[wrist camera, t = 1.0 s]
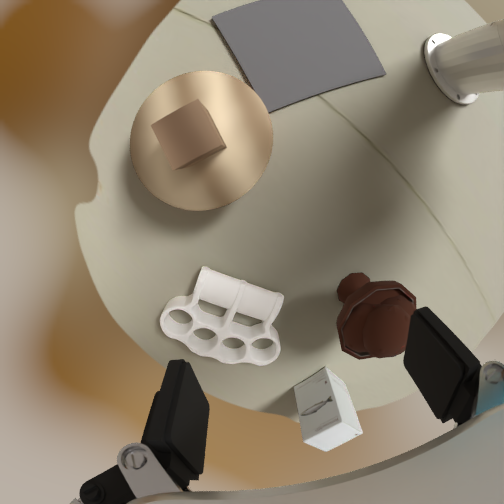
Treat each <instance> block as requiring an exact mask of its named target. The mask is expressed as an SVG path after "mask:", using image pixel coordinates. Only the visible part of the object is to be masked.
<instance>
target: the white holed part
mask: <svg viewBox="0 0 504 504" xmlns="http://www.w3.org/2000/svg"><path fill="white" fill-rule="evenodd" d="M199 299H201V300H204V301H206V302H209V303H212V304H215V305H218V306H220V307H223V308H226V309H227V310H226V313H225V315H224V316H222V317H218V316H215V315H212V314H210V313H207V312H204V311H202V310H201V309H200V307H199V305H198V301H199ZM283 301H284V295H281V293H279V292H276V293H275V292H272V291H270V290H267V289H264V288H261V287H258V286H255V285H253V284H250V283H247V282H246V281H245V280H239V279H236V278H233V277H230V276H227V275H225V274H222V273H219V272H217V271H214V270H211V269H209V267H206V266H204V267H203V266H202V269H201V272H200V274H199V277H198V280H197V283H196V286H195V288H194V291H193V294H191V295H189V296H177V297H174V298H172V299H171V300H169V301H168V303H167V304H166V306H165V308H164V310H163V312H162V314H161V317H160V325H161V328H162V330H163V332H164V333H165V334H166V335H167V336H168V337H169V338H174V339H177V340H179V341H181V342H183V343H184V344H185V345H186V346H187V347H188V348H189V349H190V350H191V351H192V353H196V354H198V355H199V356H207V357H212V358H215V359H217V360H219V361H220V362H221V363H227V364H237V363H242V362H248V363H253V364H256V365H258V366H263V365H267V364H269V363H271V362H273V361H274V360H275V359H276V358H277V357H278V356H279V354H280V350H281V347H280V341H279V335H278V332H277V330H276V329H275V328H274V327H273V326H272V325H271V324H272V322H273V321H274V320H275V319H276V317H277V315H278V313H279V311H280V309H281V307H282V304H283ZM176 309H179V310H183V311H185V312H187V313H188V314H189V315H190V316H191V317H192V320H191V321H190V322H188V323H185V324H181V323H177V322H175V321H174V320H173V319H172V318H171V317H170V314H169V312H170V311H172V310H176ZM236 312H238V313H241V314H244V315H247V316H250V317H253V318H257V319H260V320H263V322H262V323H259V324H255V325H253V326H251V327H249V326H246V325H242V324H239V323H236V322H233V321H232V320H233V318H234V315H235V313H236ZM199 328H207V329H210V330H212V331H213V332H215V333H216V335H215V336H214V337H213V338H211V339H208V340H204V339H200V338H198V337H196V336H195V335H194V333H193V332H194V331H195V330H196V329H199ZM227 338H238V339H240V340H242V341H243V342H244V345H243V346H241V347H240V348H236V349H231V348H228V347H226V346H225V345H224V344H223V343H222V341H223V340H224V339H227ZM260 338H268V339H271V340H273V341H274V342H273V344H272V345H271V346H270V347H268V348H266V349H257V348H255V347H253V346H252V345H251V344H252V343H253V342H254V341H255V340H257V339H260Z"/></svg>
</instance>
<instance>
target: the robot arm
mask: <svg viewBox="0 0 504 504" xmlns="http://www.w3.org/2000/svg"><path fill="white" fill-rule="evenodd" d="M424 54H425V60H426V63H427V67H428V69H429V71H430V74H431V76H432V77H433V79H434V81H435V82H436V84H437V85H438V87H439V88H440V89H441V90H442V92H443V93H444V94H445V95H446V96H447V97H449V98H450V99H451V100H453V101H454V102H456V103H459V104H471V103H473V102H474V101H476V99H477V98H478V95H479V93H485V92H494V91H504V19H502V20H499V21H496V22H492V23H490V24H486V25H483V26H481V27H478V28H475V29H472V30H469V31H467V32H464V33H462V34H459V35H457V36H454V37H450V36H448V35H445V34H434V35H432V36H430V37H429V38H428V39H427V41H426V43H425V47H424ZM403 361H404V366H405V368H406V369H407V371H408V373H409V374H410V376H411V377H412V379H413V380H414V382H415V384H416V385H417V387H418V388H419V390H420V392H421V393H422V395H423V396H424V398H425V400H426V401H427V403H428V405H429V406H430V408H431V410H432V411H433V413H434V415H435V416H436V418H437V419H441V421H442V423H445V422H446V421H448V420H450V419H452V418H453V419H454V421H455V425H454V429H453V430H451V431H449V432H447V433H445V434H443V435H441V436H439V437H438V438H435V439H433V440H432V441H429V442H427V443H425V444H424V445H421V446H419V447H417V448H415V449H412V450H410V451H408V452H405V453H403V454H401V455H398V456H396V457H393V458H391V459H388V460H385V461H382V462H380V463H377V464H374V465H371V466H368V467H365V468H362V469H358V470H355V471H352V472H349V473H345V474H341V475H338V476H333V477H329V478H325V479H320V480H316V481H311V482H306V483H300V484H294V485H289V486H281V487H274V488H265V489H254V490H239V491H209V492H208V491H204V492H203V491H199V492H192V491H191V490H190V489H189V487H188V485H189V481H190V480H199V474H202V473H203V467H204V458H205V447H206V437H207V428H208V418H209V403H208V401H207V399H206V397H205V395H204V393H203V391H202V388H201V386H200V384H199V382H198V380H197V378H196V376H195V374H194V372H193V369H192V367H191V365H190V363H189V362H185V360H184V359H180V360H170V361H169V363H168V366H167V369H166V373H165V376H164V379H163V382H162V386H161V389H160V391H158V392H156V394H155V396H154V399H153V403H152V406H151V409H150V413H149V416H148V419H147V423H146V426H145V429H144V433H143V436H142V440H141V443H131V444H128V445H126V446H125V447H123V448H122V449H121V451H120V452H119V454H118V456H117V463H118V464H117V465H115V466H114V467H112V468H110V469H108V470H107V471H105V472H103V473H101V474H99V475H97V476H96V477H94V478H92V479H90V480H88V481H86V482H85V483H84V484H83V485H82V487H81V489H80V498H79V499H78V500H77V499H76V498H75V499H74V500H73V501H72V502H71V503H70V504H504V365H503V364H502V363H500V362H497V361H489V362H486V363H485V364H484V365H483V366H481V365H480V361H479V360H478V359H477V358H476V357H475V356H474V355H473V354H472V352H471V351H470V350H469V349H468V348H467V347H466V346H465V345H464V344H463V343H462V342H461V340H460V339H459V338H458V337H457V336H456V335H455V334H454V333H453V332H452V331H451V330H450V329H449V328H448V327H447V326H446V325H445V324H444V323H443V322H442V321H441V320H440V319H439V318H438V317H437V316H436V315H435V314H434V313H433V312H432V311H431V310H430V309H429V308H428V307H423V308H420V309H417V310H415V311H414V312H413V314H412V315H411V318H410V325H409V331H408V338H407V344H406V349H405V355H404V360H403Z"/></svg>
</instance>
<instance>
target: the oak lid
mask: <svg viewBox="0 0 504 504" xmlns="http://www.w3.org/2000/svg"><path fill="white" fill-rule="evenodd" d="M272 145H273V130H272V123H271V120H270V116H269V113H268V111H267V109H266V107H265V105H264V103H263V102H262V100H261V98H260V97H259V96H258V95H257V94H256V92H255V91H254V90H252V89H251V88H250V87H249V86H248V85H247V84H245V83H244V82H242V81H241V80H239V79H237V78H235V77H233V76H230V75H227V74H224V73H220V72H215V71H195V72H190V73H185V74H182V75H179V76H176V77H174V78H172V79H170V80H168V81H167V82H165V83H163V84H162V85H160V86H159V87H158V88H157V89H156V90H154V91H153V92H152V93H151V94H150V95H149V96H148V97H147V99H146V100H145V101H144V103H143V104H142V105H141V107H140V109H139V111H138V113H137V115H136V117H135V120H134V122H133V126H132V130H131V136H130V152H131V159H132V162H133V166H134V168H135V171H136V173H137V175H138V177H139V179H140V180H141V182H142V183H143V184H144V186H145V187H146V188H147V189H148V190H149V191H150V192H151V193H152V194H153V195H154V196H156V197H157V198H158V199H160V200H161V201H163V202H165V203H167V204H169V205H171V206H174V207H177V208H181V209H185V210H193V211H204V210H211V209H215V208H219V207H222V206H225V205H227V204H230V203H232V202H234V201H235V200H237V199H239V198H240V197H242V196H243V195H244V194H246V193H247V192H248V191H249V190H250V189H251V188H252V187H253V186H254V185H255V184H256V182H257V181H258V180H259V179H260V177H261V176H262V174H263V172H264V171H265V169H266V166H267V164H268V162H269V159H270V155H271V151H272Z"/></svg>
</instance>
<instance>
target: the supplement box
mask: <svg viewBox="0 0 504 504" xmlns="http://www.w3.org/2000/svg"><path fill="white" fill-rule="evenodd" d="M294 392H295V398H296V403H297V409H298V414H299V420H300V426H301V431H302V438H303V442H305V443H307V444H309V445H311V446H314V447H316V448H318V449H321V450H323V451H325V452H326V451H329V450H331V449H333V448H335V447H337V446H339V445H341V444H343V443H345V442H347V441H349V440H351V439H352V438H354V437H356V436H358V435H360V434H362V433H363V431H362V429H361V426H360V423H359V420H358V417H357V415H356V412H355V409H354V406H353V404H352V401H351V398H350V395H349V393H348V390H347V387H346V385H345V383H344V382H343V381H342V380H341V379H340V378H339V377H337V376H336V375H335V374H334V373H333V372H332V371H330V370H329V369H328V368H327V367H324V368H323V369H322V370H320V371H319V372H317V373H316V374H314V375H313V376H311V377H310V378H308V379H306V380H305V381H303V382H301V383H300V384H298V385H296V386H294Z"/></svg>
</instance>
